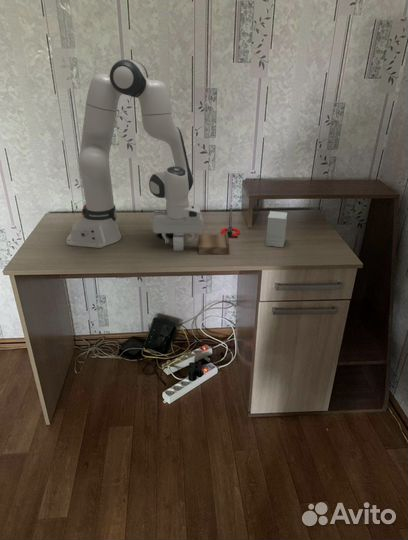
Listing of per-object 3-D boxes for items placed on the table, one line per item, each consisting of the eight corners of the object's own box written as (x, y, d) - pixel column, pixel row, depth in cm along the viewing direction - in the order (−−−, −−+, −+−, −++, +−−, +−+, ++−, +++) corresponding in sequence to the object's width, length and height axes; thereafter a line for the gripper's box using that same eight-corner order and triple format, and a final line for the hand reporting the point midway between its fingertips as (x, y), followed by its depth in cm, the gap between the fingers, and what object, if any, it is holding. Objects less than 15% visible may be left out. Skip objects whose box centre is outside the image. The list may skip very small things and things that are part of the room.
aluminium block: (173, 250, 162) (173, 237, 160) (174, 244, 167) (173, 231, 164) (183, 250, 163) (183, 237, 160) (184, 244, 167) (183, 231, 164)
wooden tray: (198, 254, 160) (198, 243, 158) (198, 241, 170) (198, 231, 168) (228, 254, 160) (229, 243, 158) (227, 241, 170) (227, 231, 168)
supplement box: (285, 240, 171) (288, 212, 165) (283, 247, 165) (286, 218, 159) (267, 238, 173) (270, 210, 167) (265, 245, 167) (267, 217, 160)
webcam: (153, 236, 174) (152, 215, 169) (162, 230, 180) (161, 209, 175) (169, 240, 171) (168, 218, 166) (178, 233, 177) (177, 212, 172)
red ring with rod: (222, 229, 182) (219, 237, 174) (223, 201, 176) (220, 208, 168) (240, 230, 181) (239, 238, 173) (242, 202, 175) (241, 209, 167)
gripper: (150, 213, 154) (152, 245, 161) (203, 213, 154) (203, 245, 161) (151, 207, 160) (153, 239, 166) (203, 207, 160) (203, 238, 167)
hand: (178, 242), depth 164 cm, fingers open, 8 cm apart
